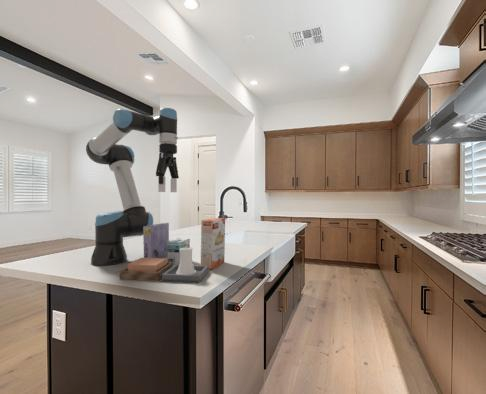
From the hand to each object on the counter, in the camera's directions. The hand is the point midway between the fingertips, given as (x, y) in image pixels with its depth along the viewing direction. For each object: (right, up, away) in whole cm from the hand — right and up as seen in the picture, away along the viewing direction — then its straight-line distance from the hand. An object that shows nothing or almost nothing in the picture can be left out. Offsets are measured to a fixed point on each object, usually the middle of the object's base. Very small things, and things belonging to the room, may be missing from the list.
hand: (168, 192), depth 119 cm
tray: (+11, -33, -15) cm, 38 cm away
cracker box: (+20, -33, +1) cm, 39 cm away
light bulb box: (+3, -33, +6) cm, 34 cm away
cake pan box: (-8, -33, +9) cm, 35 cm away
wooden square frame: (-4, -33, -12) cm, 35 cm away
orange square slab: (-4, -30, -12) cm, 33 cm away
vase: (+11, -32, -15) cm, 37 cm away
